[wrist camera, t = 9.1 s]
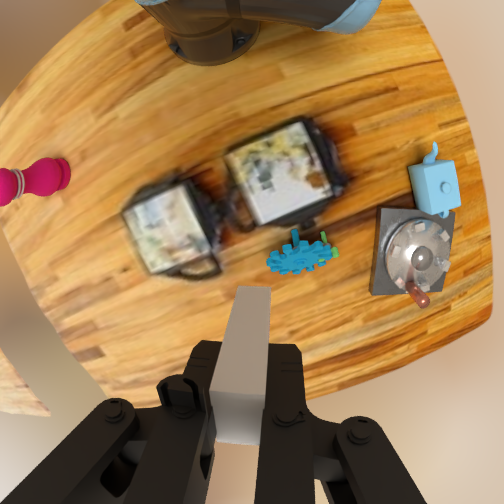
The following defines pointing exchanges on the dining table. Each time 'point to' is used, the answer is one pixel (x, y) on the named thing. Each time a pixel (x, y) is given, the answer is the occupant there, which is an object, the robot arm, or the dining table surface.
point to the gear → (301, 255)
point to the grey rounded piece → (418, 257)
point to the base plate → (385, 228)
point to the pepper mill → (34, 179)
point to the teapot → (435, 185)
